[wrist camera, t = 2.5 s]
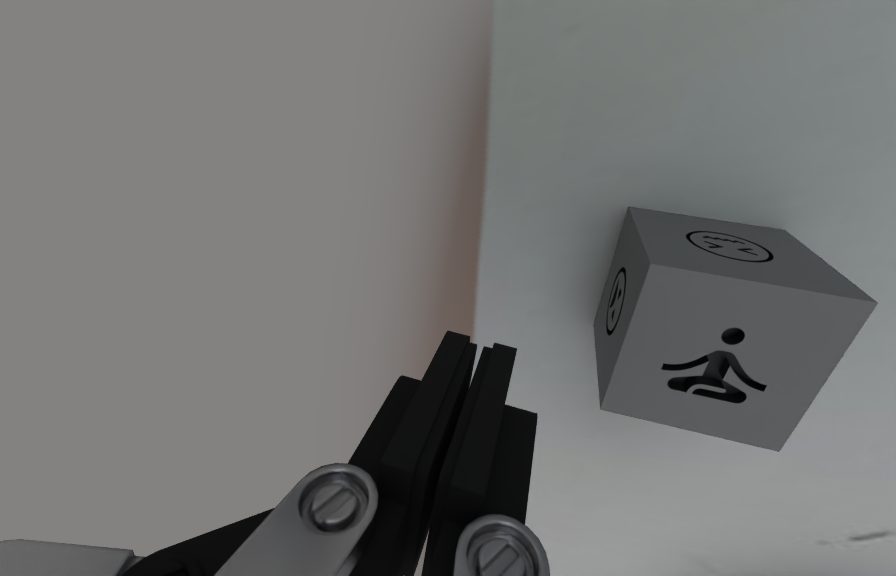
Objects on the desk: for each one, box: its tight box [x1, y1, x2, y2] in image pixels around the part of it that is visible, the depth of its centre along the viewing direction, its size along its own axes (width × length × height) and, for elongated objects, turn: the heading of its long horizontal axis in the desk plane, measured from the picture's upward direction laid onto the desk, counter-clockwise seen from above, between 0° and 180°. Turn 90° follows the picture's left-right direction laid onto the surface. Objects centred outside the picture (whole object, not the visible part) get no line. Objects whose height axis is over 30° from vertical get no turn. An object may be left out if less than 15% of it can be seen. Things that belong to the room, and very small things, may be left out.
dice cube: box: [594, 207, 878, 452], centre depth 14 cm, size 5×5×5 cm
